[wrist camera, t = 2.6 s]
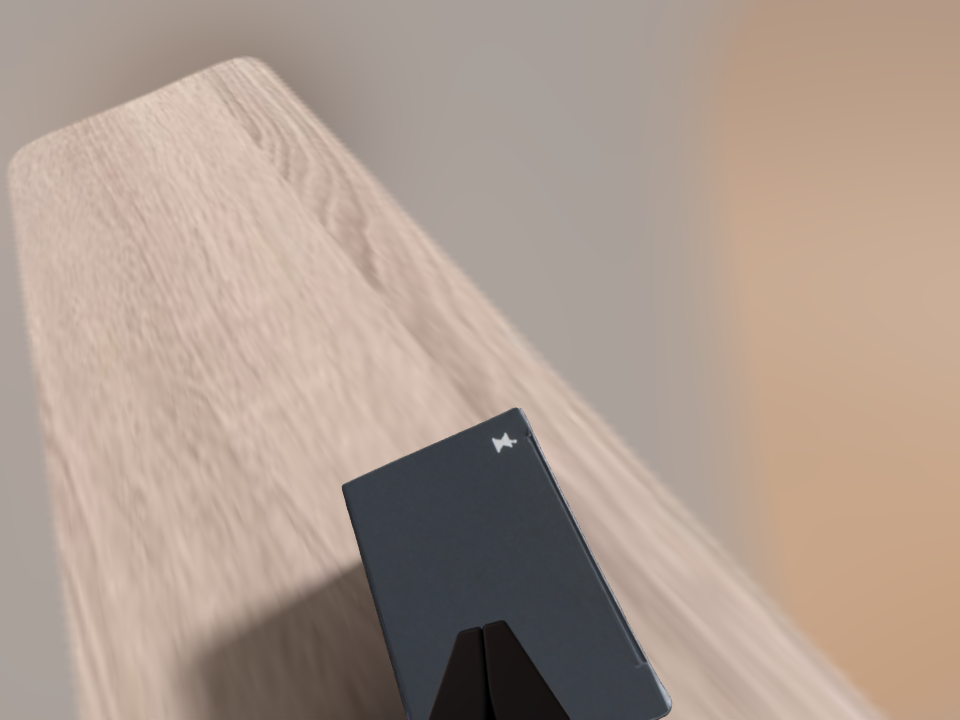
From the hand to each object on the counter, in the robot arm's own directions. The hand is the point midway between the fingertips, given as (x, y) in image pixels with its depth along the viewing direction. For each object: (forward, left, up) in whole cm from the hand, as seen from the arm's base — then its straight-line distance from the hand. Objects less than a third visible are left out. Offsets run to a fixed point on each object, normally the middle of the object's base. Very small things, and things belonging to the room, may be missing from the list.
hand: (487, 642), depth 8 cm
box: (+1, 0, -14) cm, 14 cm away
